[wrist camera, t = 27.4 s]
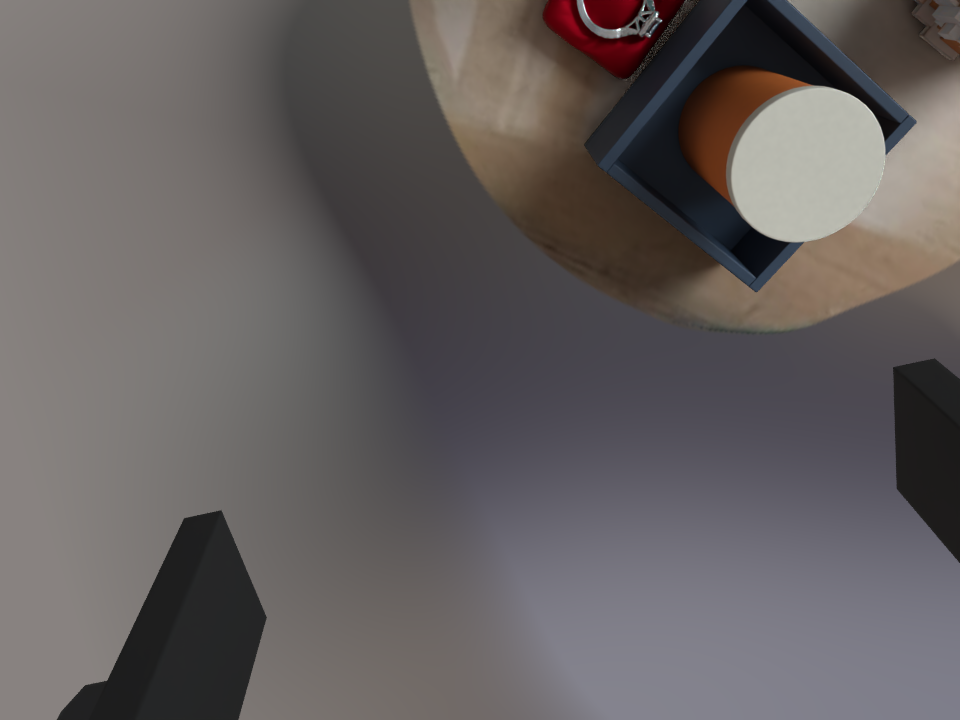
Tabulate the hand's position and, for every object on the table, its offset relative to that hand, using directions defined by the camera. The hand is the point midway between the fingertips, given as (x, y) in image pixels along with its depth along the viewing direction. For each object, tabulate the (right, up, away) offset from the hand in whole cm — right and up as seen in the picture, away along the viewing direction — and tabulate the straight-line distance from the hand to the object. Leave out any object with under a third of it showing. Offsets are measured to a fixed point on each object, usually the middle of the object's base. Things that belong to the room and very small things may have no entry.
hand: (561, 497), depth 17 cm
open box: (+12, +16, +32) cm, 37 cm away
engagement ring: (+5, +22, +29) cm, 36 cm away
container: (+13, +16, +31) cm, 37 cm away
